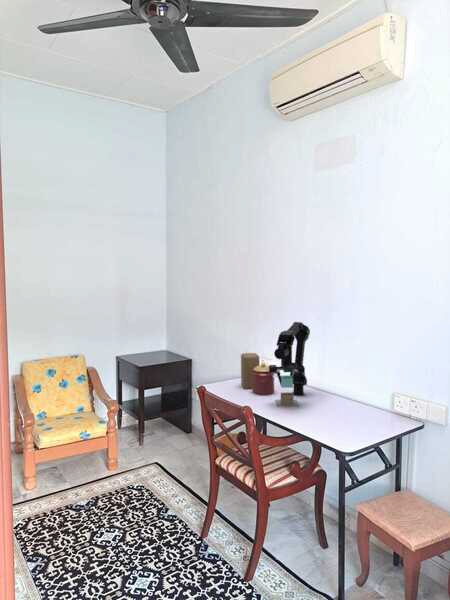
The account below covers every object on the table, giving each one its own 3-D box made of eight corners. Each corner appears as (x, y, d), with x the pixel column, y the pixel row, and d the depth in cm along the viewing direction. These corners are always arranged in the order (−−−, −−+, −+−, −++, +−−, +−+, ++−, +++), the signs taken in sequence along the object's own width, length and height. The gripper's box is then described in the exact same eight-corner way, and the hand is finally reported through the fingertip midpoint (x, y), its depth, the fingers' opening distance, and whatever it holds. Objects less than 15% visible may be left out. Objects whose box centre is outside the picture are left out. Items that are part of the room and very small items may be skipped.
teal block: (280, 384, 239) (280, 375, 238) (291, 384, 239) (291, 375, 238) (281, 387, 233) (281, 378, 232) (292, 387, 233) (292, 378, 232)
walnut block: (280, 401, 239) (280, 392, 239) (291, 401, 239) (291, 392, 239) (282, 405, 233) (282, 395, 233) (293, 404, 233) (293, 395, 233)
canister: (273, 389, 264) (273, 360, 262) (275, 396, 251) (275, 365, 249) (251, 389, 264) (251, 360, 262) (252, 396, 251) (252, 365, 250)
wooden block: (241, 384, 275) (240, 353, 273) (256, 383, 276) (256, 352, 274) (243, 389, 265) (243, 356, 263) (259, 388, 266) (259, 356, 264)
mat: (274, 400, 242) (274, 399, 242) (296, 400, 242) (296, 399, 242) (277, 407, 230) (277, 407, 230) (299, 407, 230) (299, 406, 230)
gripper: (270, 359, 226) (270, 388, 228) (306, 358, 226) (306, 388, 227) (268, 354, 237) (268, 382, 239) (303, 354, 237) (303, 382, 239)
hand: (286, 384), depth 236 cm, fingers closed on teal block, 6 cm apart
